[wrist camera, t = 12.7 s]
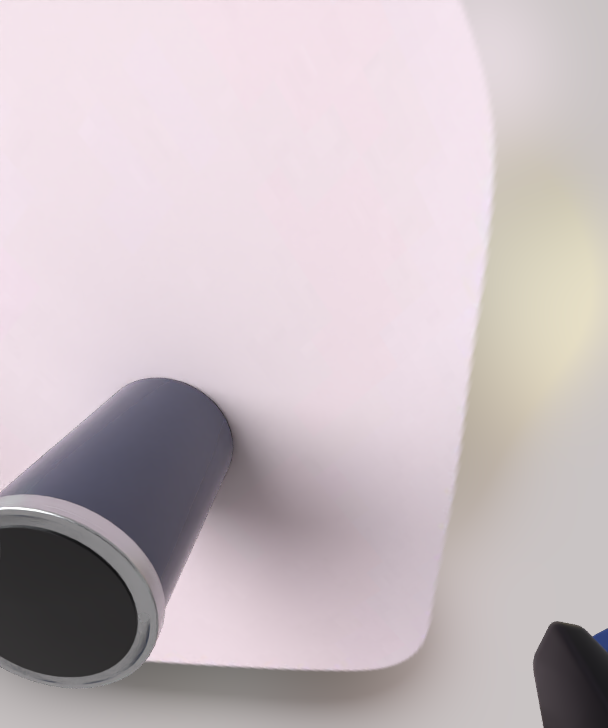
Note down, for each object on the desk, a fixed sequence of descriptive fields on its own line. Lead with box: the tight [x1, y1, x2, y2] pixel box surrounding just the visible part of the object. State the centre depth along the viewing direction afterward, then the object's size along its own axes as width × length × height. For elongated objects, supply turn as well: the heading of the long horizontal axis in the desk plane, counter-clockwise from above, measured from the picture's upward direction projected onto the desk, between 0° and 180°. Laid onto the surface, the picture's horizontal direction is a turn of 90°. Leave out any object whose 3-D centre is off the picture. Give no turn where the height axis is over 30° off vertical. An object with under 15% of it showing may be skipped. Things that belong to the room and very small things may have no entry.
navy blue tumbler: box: [0, 378, 233, 688], centre depth 17 cm, size 6×6×9 cm
